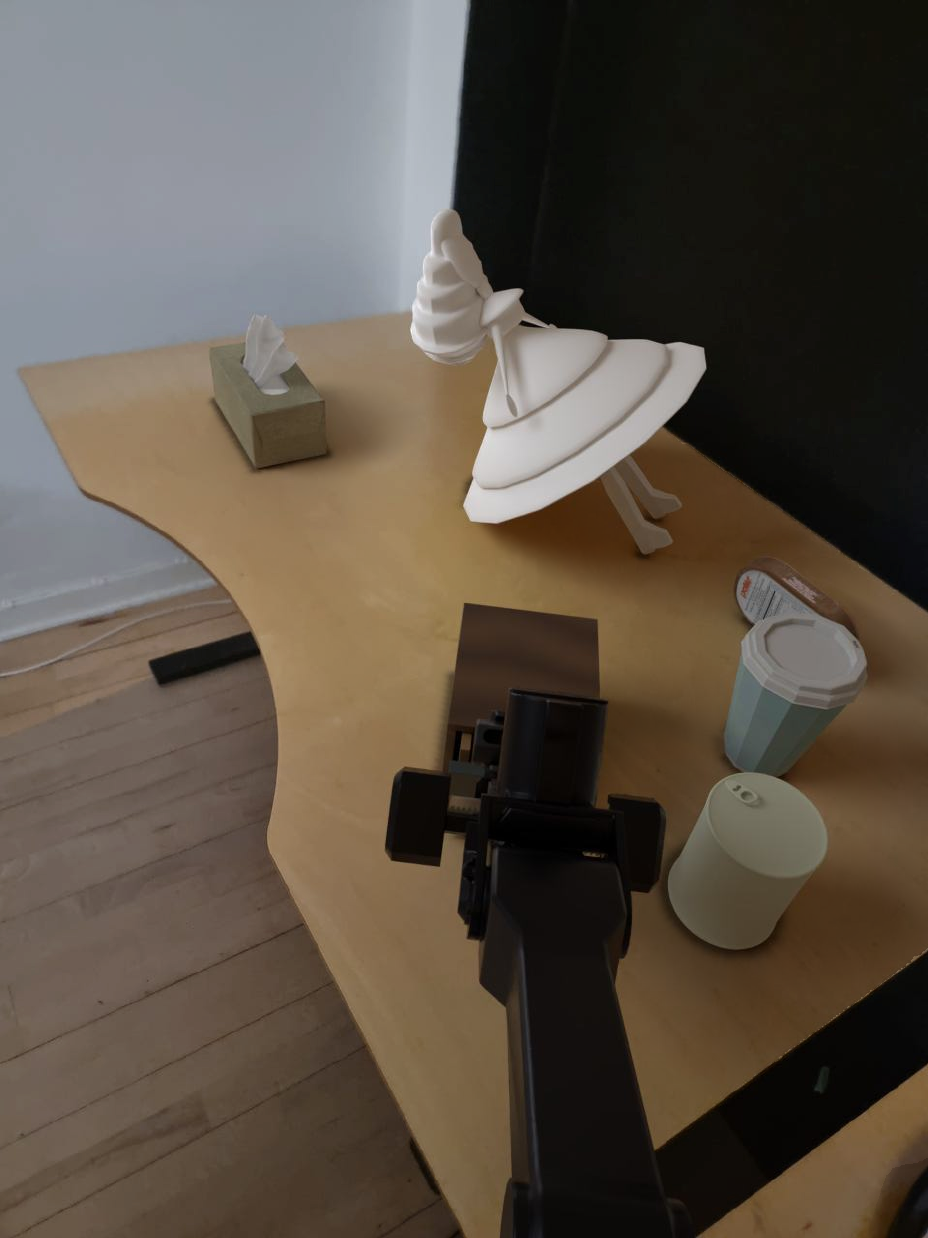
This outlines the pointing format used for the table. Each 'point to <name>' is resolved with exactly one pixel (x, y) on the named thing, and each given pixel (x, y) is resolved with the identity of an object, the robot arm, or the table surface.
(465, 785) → the drawer
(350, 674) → the table surface
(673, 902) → the can
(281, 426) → the tissue box
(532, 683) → the cabinet
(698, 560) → the table surface
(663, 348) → the figurine
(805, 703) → the disposable coffee cup
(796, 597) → the tin
